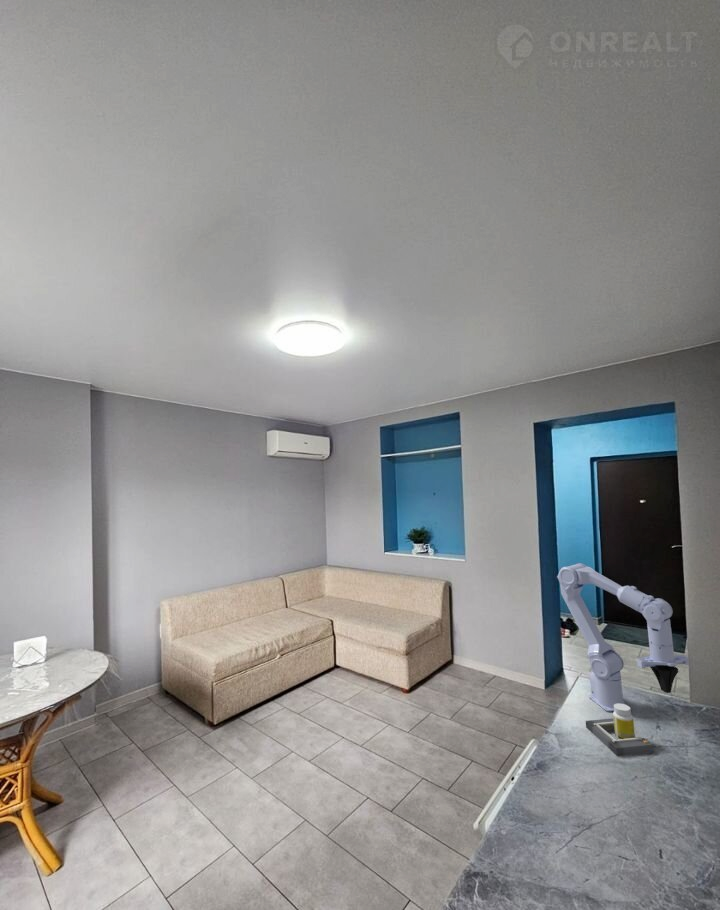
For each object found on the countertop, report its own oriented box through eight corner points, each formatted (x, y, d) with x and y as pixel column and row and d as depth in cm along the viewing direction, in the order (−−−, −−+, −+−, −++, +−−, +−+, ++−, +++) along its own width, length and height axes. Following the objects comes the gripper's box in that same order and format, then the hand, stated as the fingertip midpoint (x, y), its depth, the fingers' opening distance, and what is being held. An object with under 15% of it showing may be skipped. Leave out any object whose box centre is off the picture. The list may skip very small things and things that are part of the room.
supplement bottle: (639, 742, 112) (636, 710, 113) (623, 744, 112) (620, 712, 113) (627, 732, 117) (624, 701, 118) (611, 734, 117) (608, 703, 117)
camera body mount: (586, 727, 120) (585, 718, 121) (618, 724, 121) (617, 715, 121) (616, 755, 107) (615, 745, 108) (652, 751, 108) (651, 742, 108)
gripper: (647, 649, 116) (653, 700, 115) (695, 646, 117) (701, 695, 116) (629, 640, 123) (634, 688, 122) (675, 637, 124) (680, 684, 123)
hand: (666, 691), depth 119 cm, fingers closed
